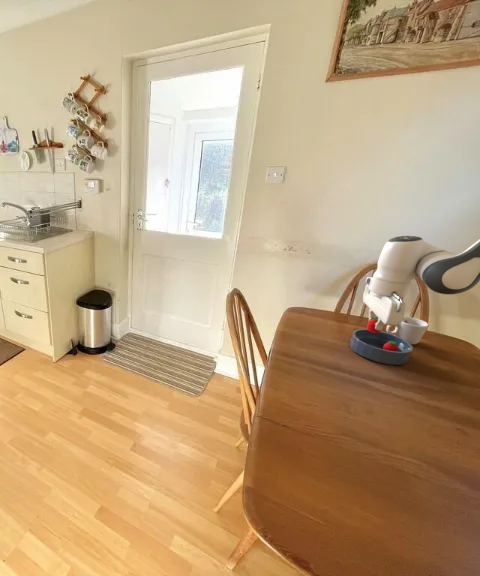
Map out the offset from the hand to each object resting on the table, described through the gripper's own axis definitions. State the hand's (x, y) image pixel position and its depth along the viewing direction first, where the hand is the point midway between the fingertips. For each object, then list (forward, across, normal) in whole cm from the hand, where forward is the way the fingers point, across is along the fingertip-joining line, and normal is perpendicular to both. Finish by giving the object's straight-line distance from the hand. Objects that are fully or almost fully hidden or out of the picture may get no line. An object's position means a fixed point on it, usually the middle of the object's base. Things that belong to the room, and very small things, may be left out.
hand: (374, 325), depth 104 cm
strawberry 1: (+2, 0, 0) cm, 2 cm away
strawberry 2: (+9, 0, -6) cm, 11 cm away
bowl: (+10, 0, -3) cm, 10 cm away
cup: (+10, +13, -14) cm, 22 cm away
